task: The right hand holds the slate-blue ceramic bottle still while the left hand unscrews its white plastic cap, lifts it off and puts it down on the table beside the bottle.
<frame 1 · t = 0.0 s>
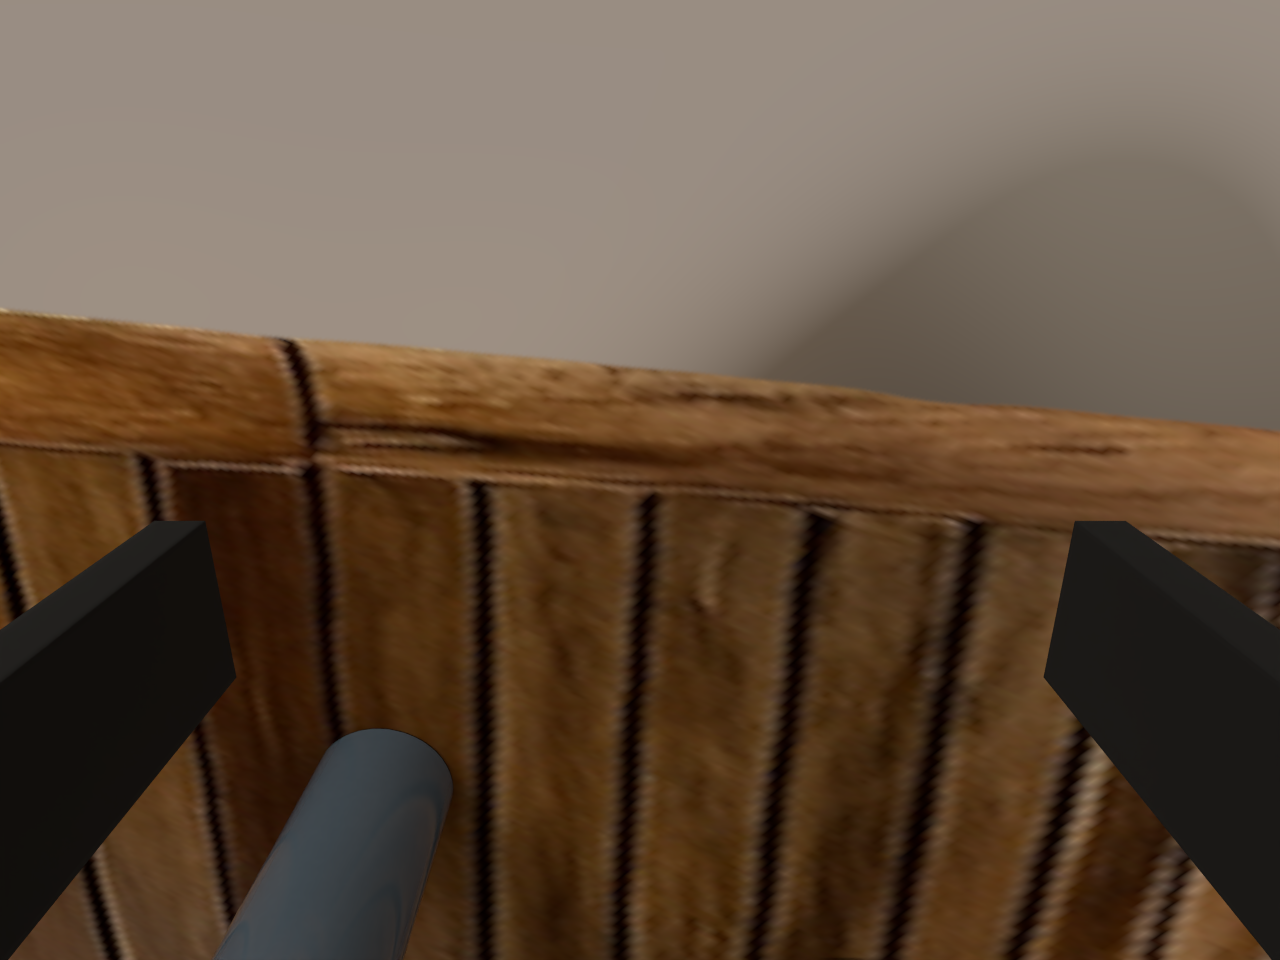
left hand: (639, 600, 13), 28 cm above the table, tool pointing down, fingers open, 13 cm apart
bottle: (385, 784, 48), on the table
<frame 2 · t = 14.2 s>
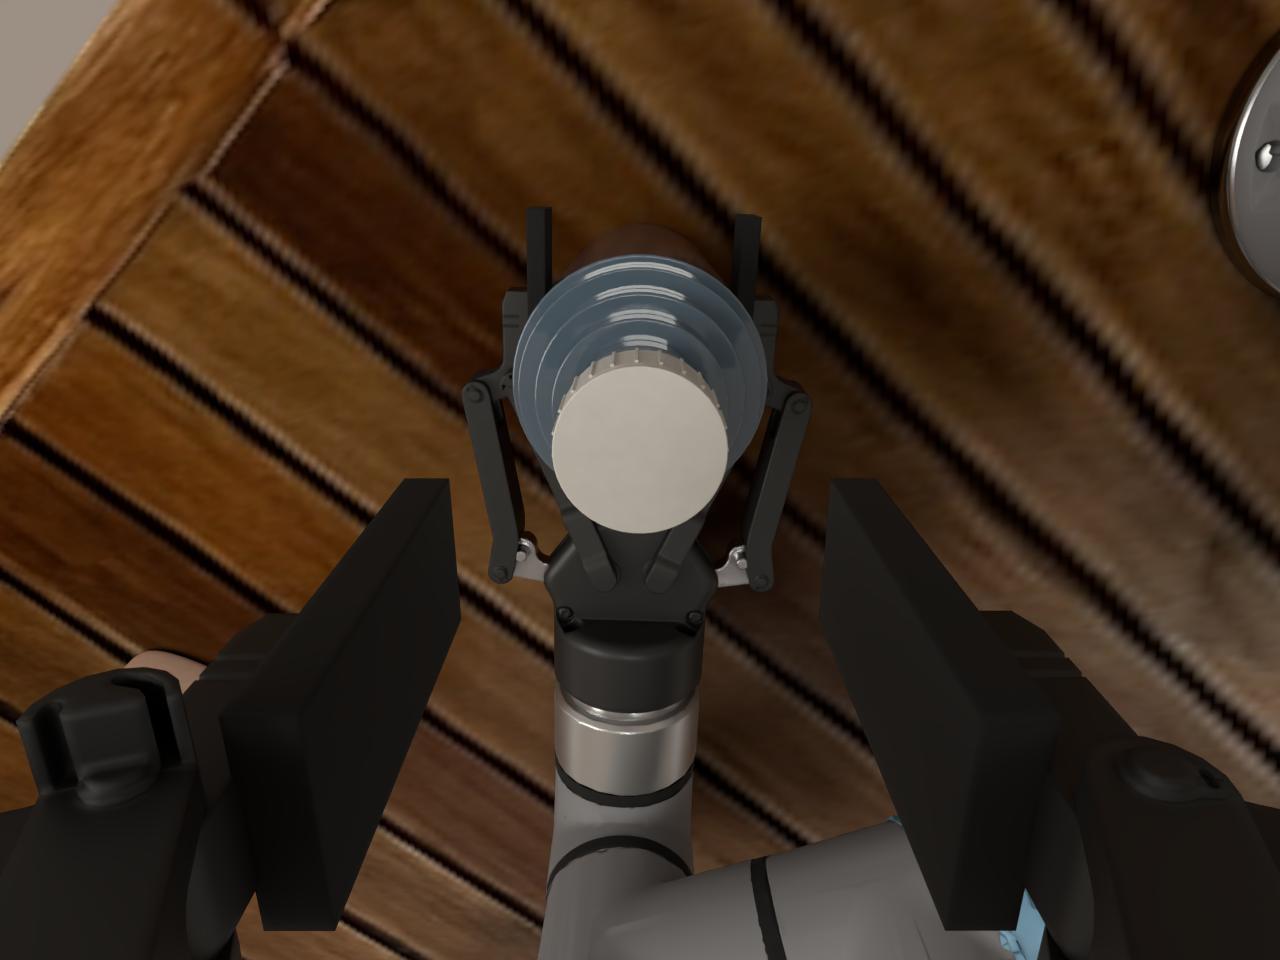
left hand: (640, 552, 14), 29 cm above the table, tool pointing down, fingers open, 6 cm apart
right hand: (643, 212, 34), fingers closed on bottle, 8 cm apart
anatomical model: (196, 744, 51), on the table
bottle: (640, 305, 42), on the table, touching right hand
cap: (640, 449, 20), point 24 cm above the table, screwed on, not yet turned
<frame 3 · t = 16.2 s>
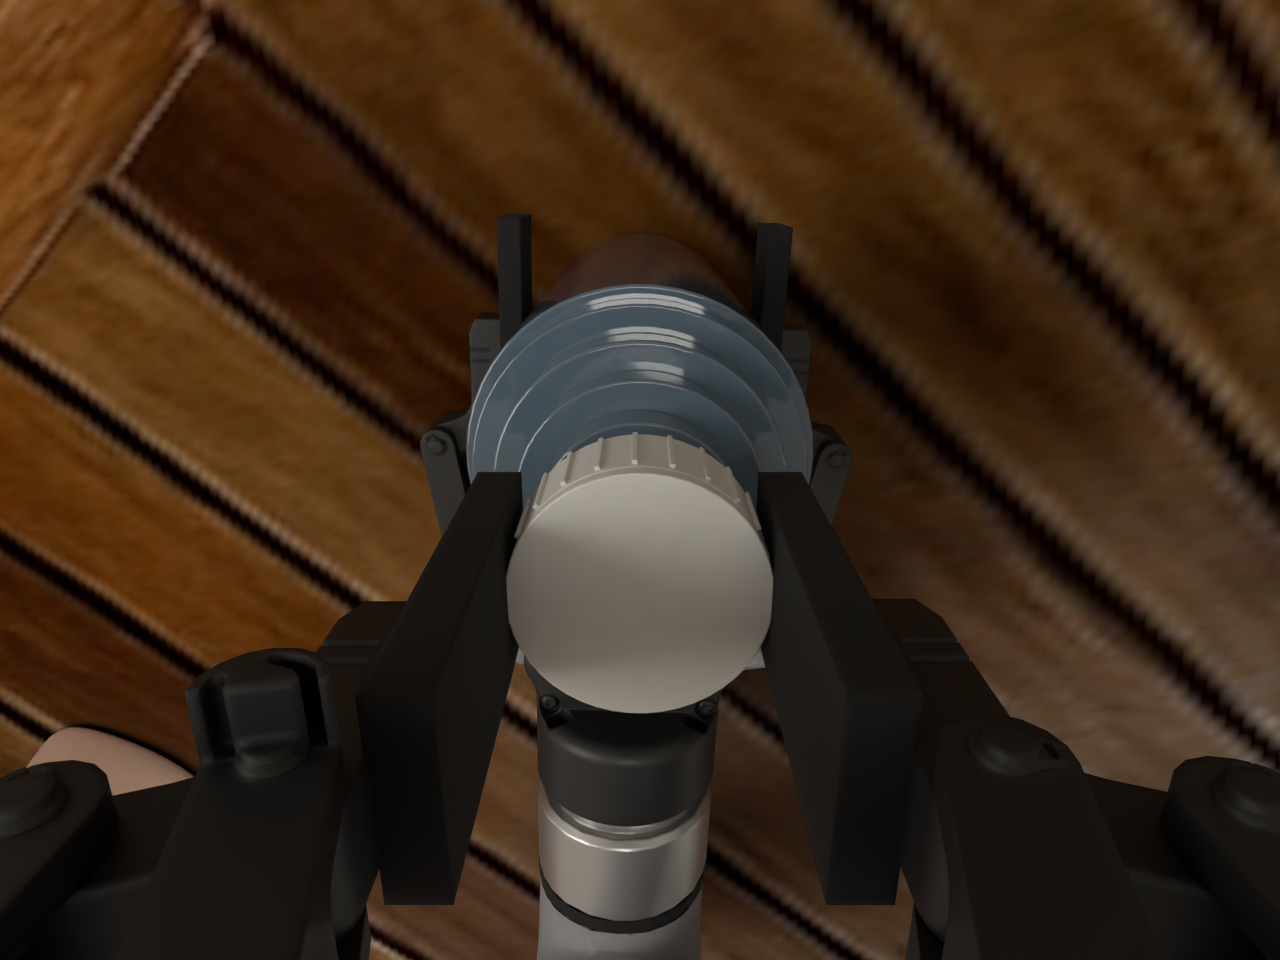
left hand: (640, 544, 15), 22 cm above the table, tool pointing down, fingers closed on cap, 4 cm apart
anatomical model: (128, 830, 44), on the table
bottle: (639, 330, 35), on the table, touching right hand
cap: (639, 591, 13), point 24 cm above the table, screwed on, not yet turned, touching left hand
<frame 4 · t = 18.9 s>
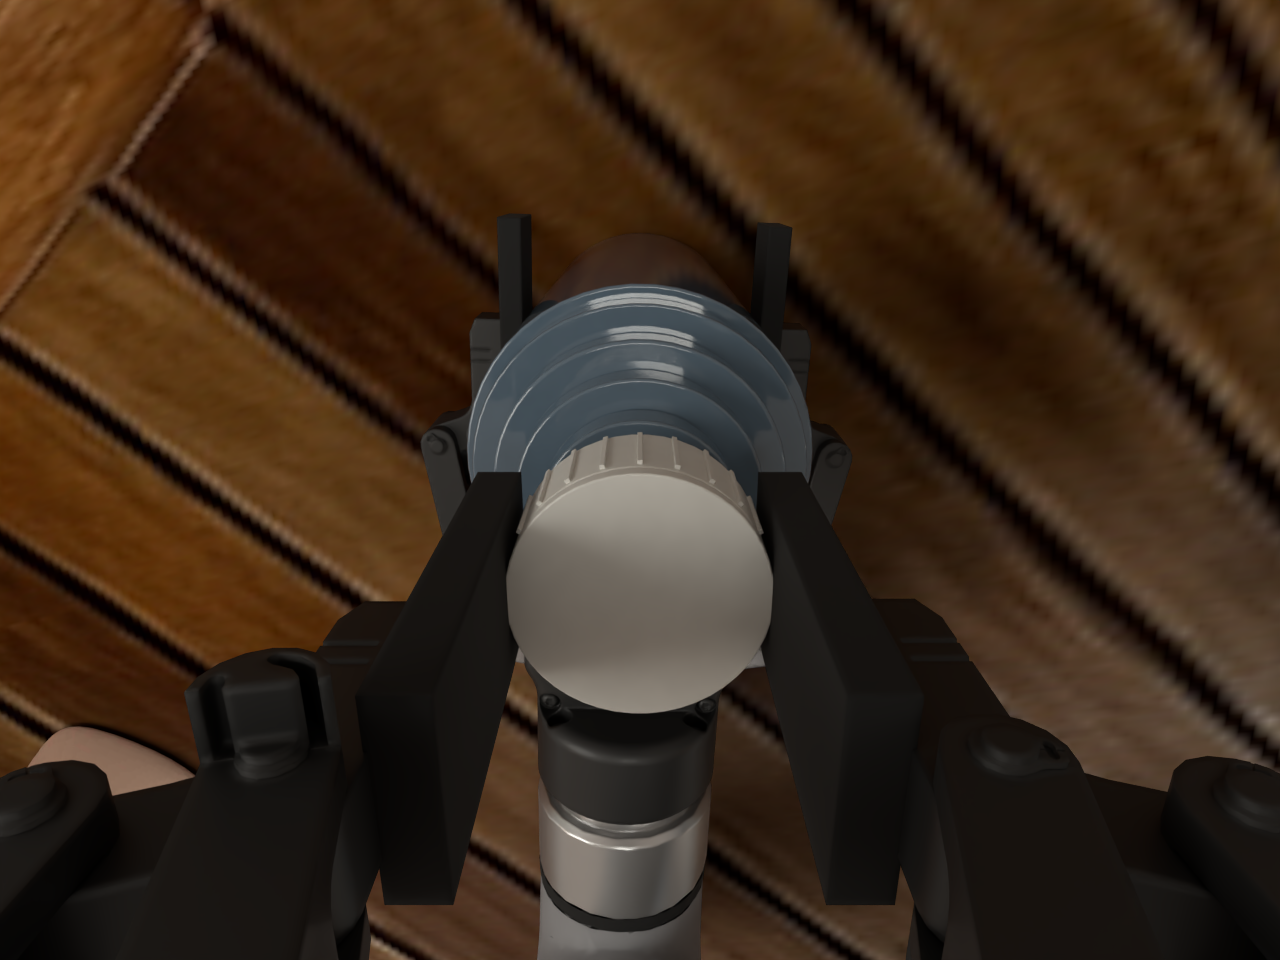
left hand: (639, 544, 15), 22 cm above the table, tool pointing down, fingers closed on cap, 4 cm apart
anatomical model: (130, 829, 44), on the table
bottle: (639, 330, 35), on the table, touching right hand
cap: (639, 591, 13), point 24 cm above the table, turned 76° so far, risen 0.1 cm, still on its thread, touching left hand
when the left hand's fingers open (1 cm above the table, at t = 35.7 s): cap drops 1 cm, point 2 cm above the table.
when the right hand's fingers open (6 cm above the table, at t = 37.0 s): bottle stays where it is, on the table.
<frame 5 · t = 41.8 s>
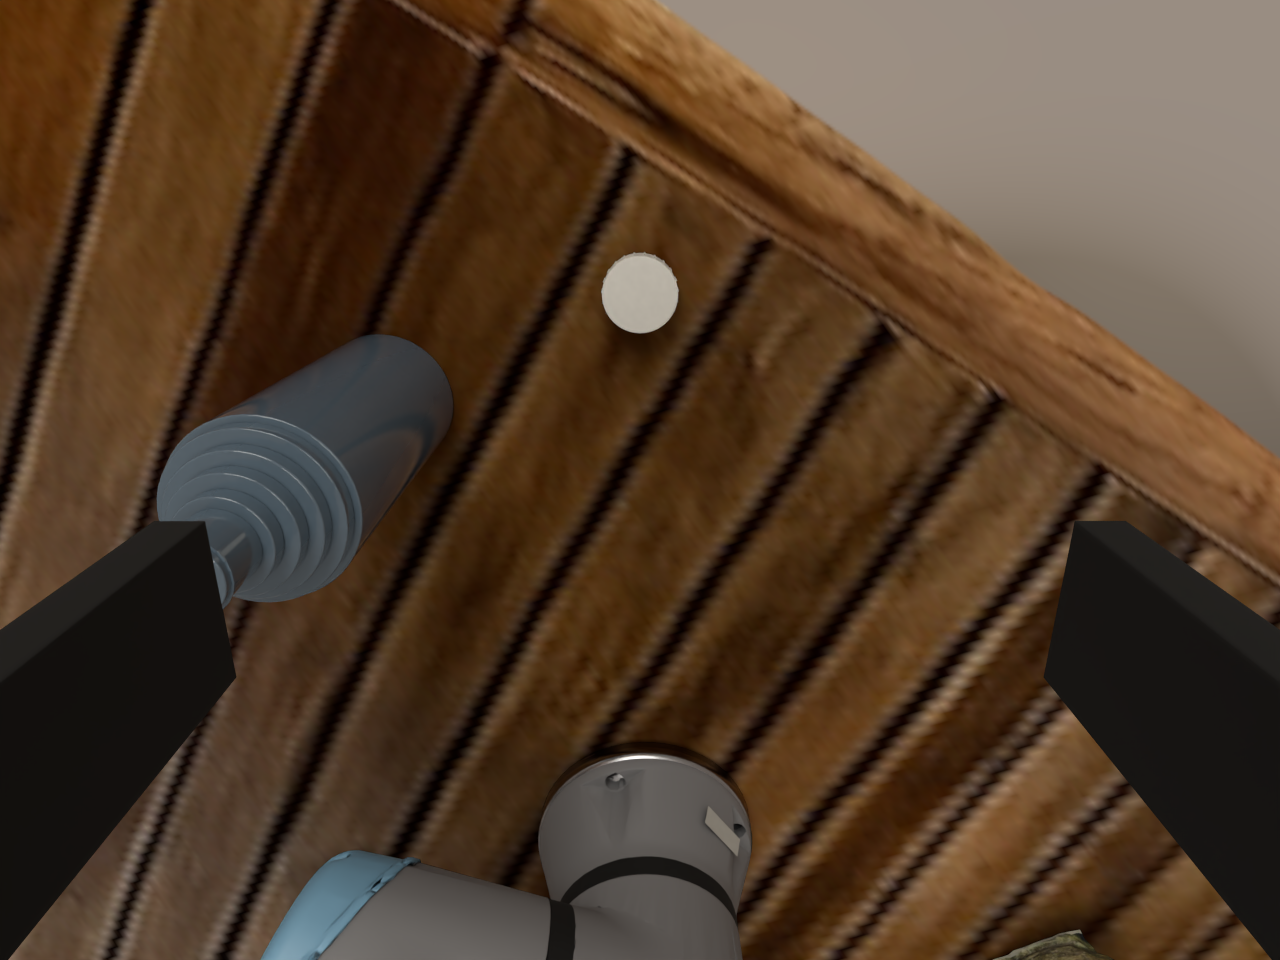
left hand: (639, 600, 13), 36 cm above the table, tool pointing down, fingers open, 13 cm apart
bottle: (386, 400, 49), on the table
cap: (640, 294, 45), point 2 cm above the table, off its thread
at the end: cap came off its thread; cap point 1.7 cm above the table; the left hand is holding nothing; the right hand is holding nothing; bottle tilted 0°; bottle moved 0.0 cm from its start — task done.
